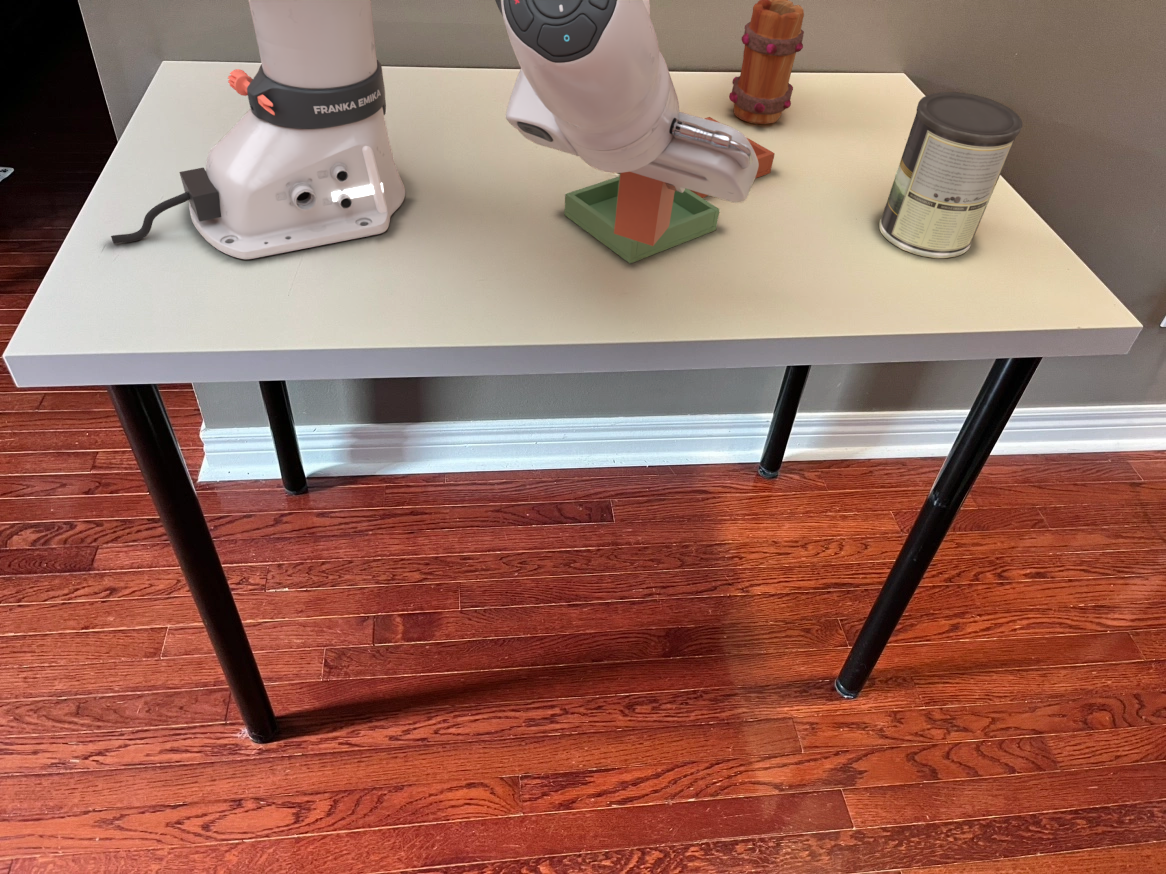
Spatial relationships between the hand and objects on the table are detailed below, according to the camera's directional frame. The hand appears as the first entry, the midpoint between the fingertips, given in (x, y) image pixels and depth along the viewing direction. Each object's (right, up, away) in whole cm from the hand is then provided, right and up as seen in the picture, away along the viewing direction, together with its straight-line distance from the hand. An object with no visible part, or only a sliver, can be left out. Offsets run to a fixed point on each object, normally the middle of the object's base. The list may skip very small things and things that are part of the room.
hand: (651, 174), depth 79 cm
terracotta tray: (+8, +9, +28) cm, 31 cm away
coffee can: (+32, -1, +20) cm, 38 cm away
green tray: (0, 0, +18) cm, 18 cm away
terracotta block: (-1, -4, +3) cm, 5 cm away
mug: (+18, +21, +41) cm, 49 cm away
